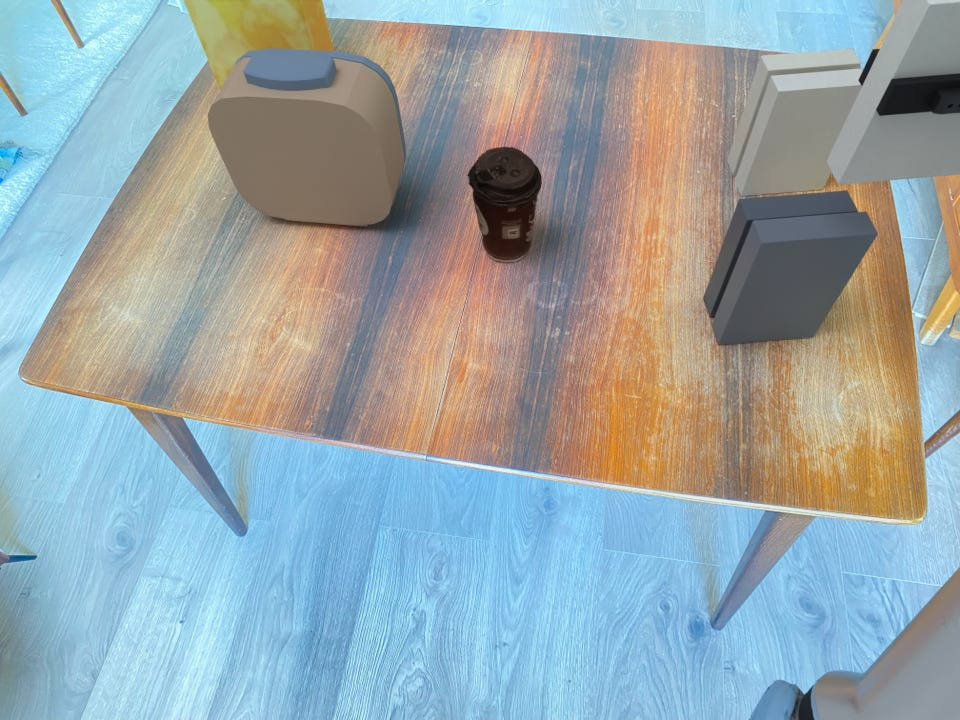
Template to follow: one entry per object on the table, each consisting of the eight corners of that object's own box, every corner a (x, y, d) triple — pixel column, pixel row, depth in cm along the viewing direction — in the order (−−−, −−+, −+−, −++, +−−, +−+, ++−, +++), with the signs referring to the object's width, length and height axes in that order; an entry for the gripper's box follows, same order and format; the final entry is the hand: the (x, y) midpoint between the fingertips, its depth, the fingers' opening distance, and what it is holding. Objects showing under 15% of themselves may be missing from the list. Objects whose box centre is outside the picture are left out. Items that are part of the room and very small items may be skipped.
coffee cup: (467, 265, 87) (459, 188, 76) (478, 218, 91) (472, 138, 81) (535, 272, 86) (537, 194, 75) (543, 224, 90) (546, 144, 80)
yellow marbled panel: (350, 59, 113) (314, -104, 93) (327, 106, 106) (283, -58, 86) (251, 52, 115) (195, -108, 95) (222, 97, 109) (156, -64, 89)
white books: (822, 189, 91) (874, 83, 78) (740, 196, 92) (778, 91, 78) (805, 154, 95) (852, 47, 82) (726, 161, 95) (760, 55, 82)
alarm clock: (413, 185, 96) (389, 39, 78) (399, 235, 90) (369, 91, 72) (273, 175, 98) (218, 31, 80) (251, 223, 93) (187, 81, 75)
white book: (964, 174, 59) (1094, -10, 46) (837, 184, 59) (929, 4, 46) (949, 151, 61) (1070, -33, 48) (826, 161, 61) (911, -20, 48)
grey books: (813, 337, 79) (878, 233, 64) (717, 345, 79) (761, 243, 64) (794, 290, 83) (851, 182, 68) (703, 297, 83) (741, 191, 68)
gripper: (1208, 166, 51) (895, 192, 52) (1090, 42, 60) (822, 64, 60) (1304, 77, 45) (947, 107, 45) (1156, -47, 54) (857, -23, 54)
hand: (876, 82), depth 53 cm, fingers closed on white book, 3 cm apart
